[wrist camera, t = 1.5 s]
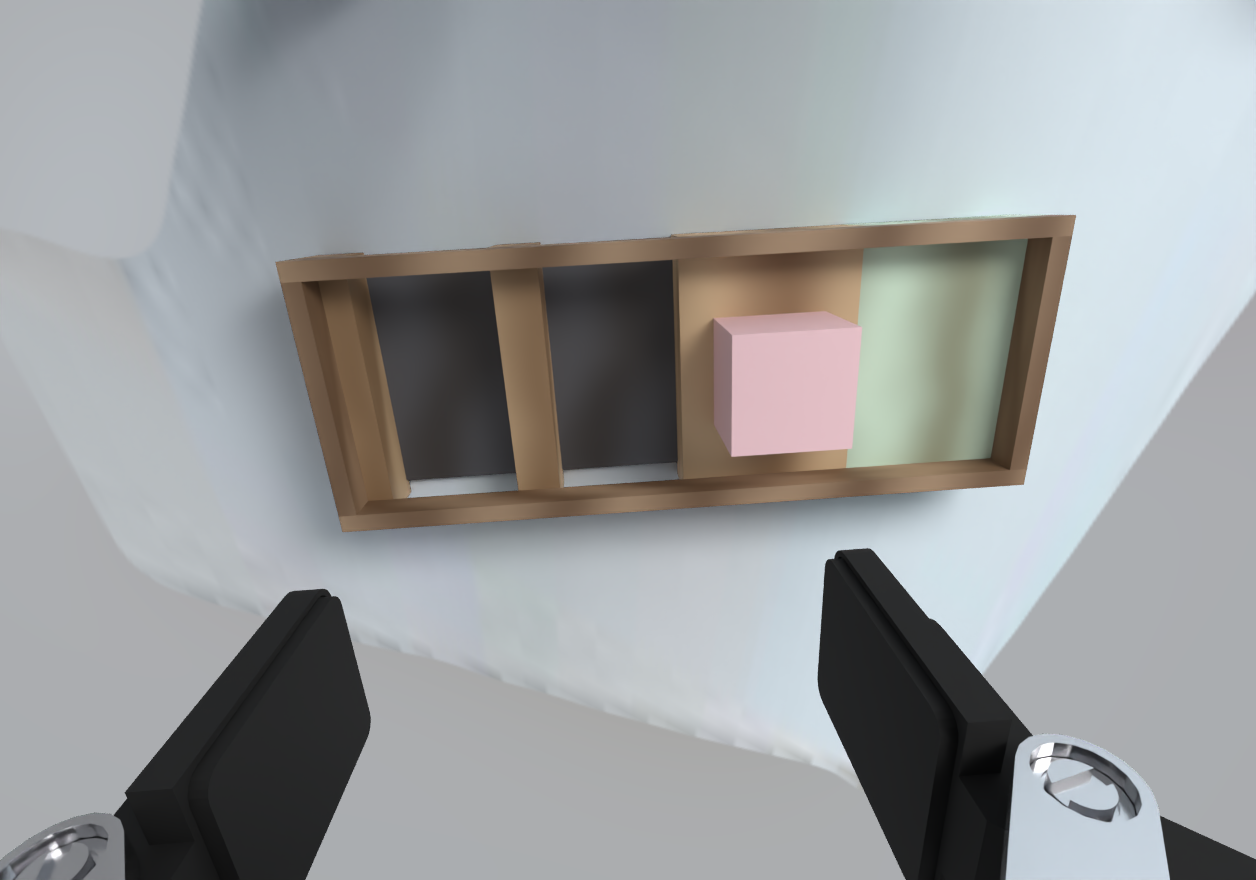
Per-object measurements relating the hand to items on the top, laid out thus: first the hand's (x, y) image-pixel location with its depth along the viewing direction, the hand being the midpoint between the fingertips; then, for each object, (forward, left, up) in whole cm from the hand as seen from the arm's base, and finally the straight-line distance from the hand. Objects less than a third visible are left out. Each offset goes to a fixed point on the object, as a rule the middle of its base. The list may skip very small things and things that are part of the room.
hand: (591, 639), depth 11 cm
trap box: (0, +4, -20) cm, 21 cm away
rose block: (0, +8, -18) cm, 20 cm away
